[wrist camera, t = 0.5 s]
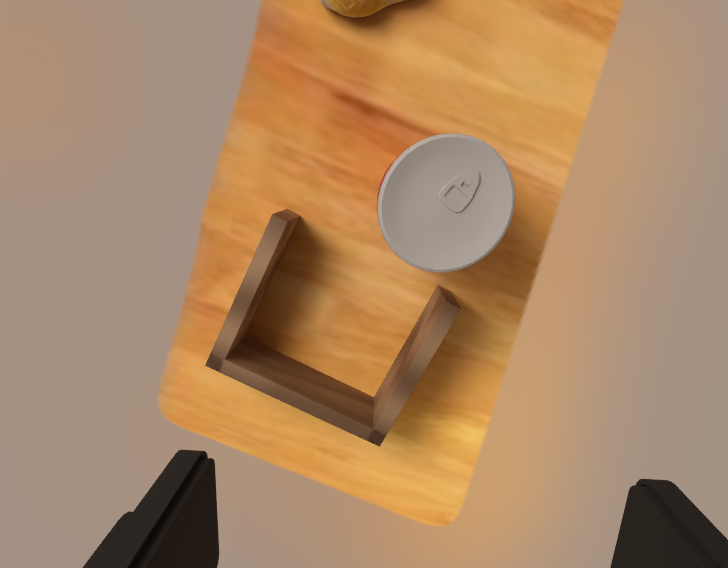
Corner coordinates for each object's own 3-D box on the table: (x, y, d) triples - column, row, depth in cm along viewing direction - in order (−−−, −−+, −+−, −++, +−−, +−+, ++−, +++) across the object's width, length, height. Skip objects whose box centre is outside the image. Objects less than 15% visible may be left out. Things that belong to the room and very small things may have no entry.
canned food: (490, 169, 34) (542, 166, 23) (445, 259, 36) (474, 295, 25) (403, 129, 33) (415, 106, 23) (362, 222, 35) (355, 242, 25)
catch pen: (286, 209, 35) (272, 214, 30) (450, 291, 36) (461, 309, 31) (227, 341, 38) (205, 365, 33) (379, 413, 39) (379, 446, 35)
